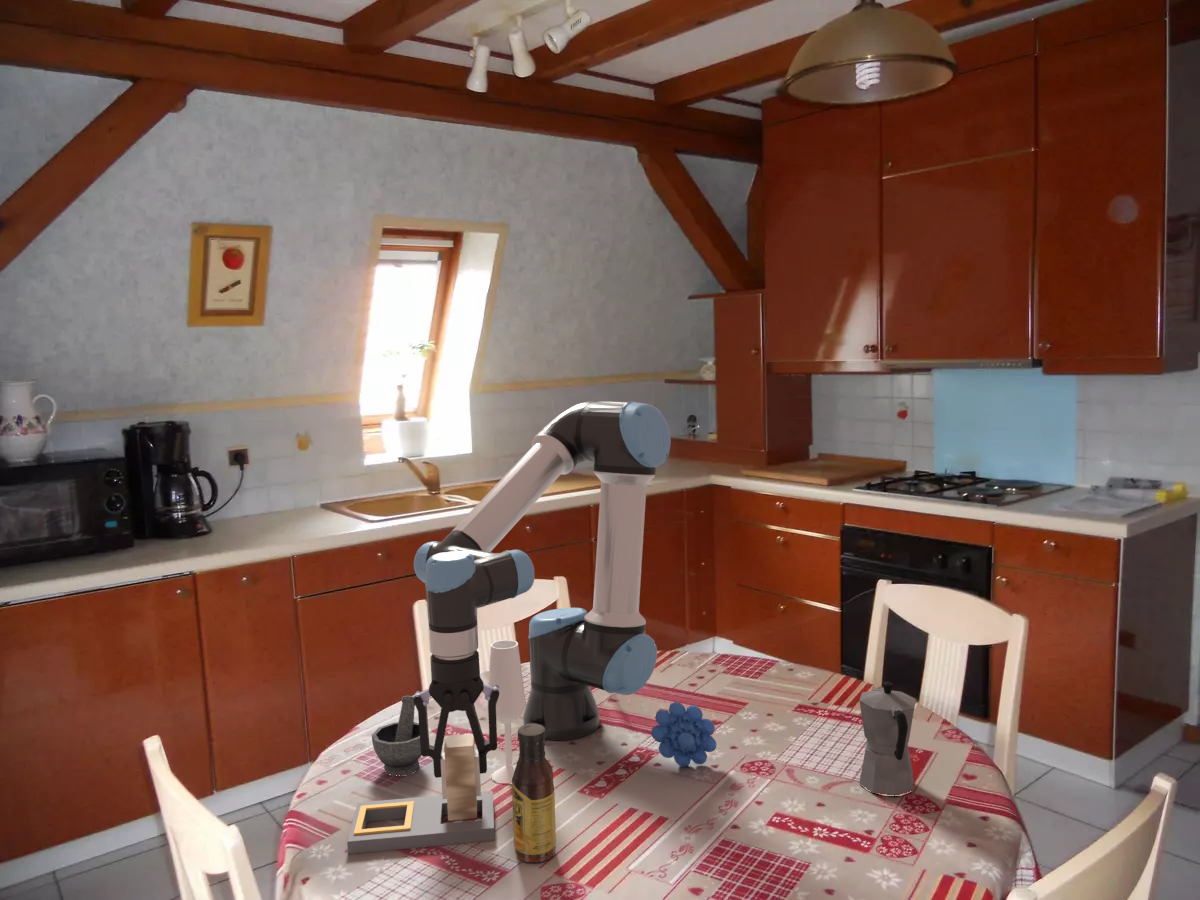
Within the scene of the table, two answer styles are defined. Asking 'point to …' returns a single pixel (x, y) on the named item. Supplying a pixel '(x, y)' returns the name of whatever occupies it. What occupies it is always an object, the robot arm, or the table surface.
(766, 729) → the table surface
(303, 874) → the table surface
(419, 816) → the peg board
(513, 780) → the sauce bottle
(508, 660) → the champagne flute
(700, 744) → the blue flower
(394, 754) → the mortar and pestle
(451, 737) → the wooden peg
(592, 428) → the robot arm
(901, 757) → the coffeepot
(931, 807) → the table surface
